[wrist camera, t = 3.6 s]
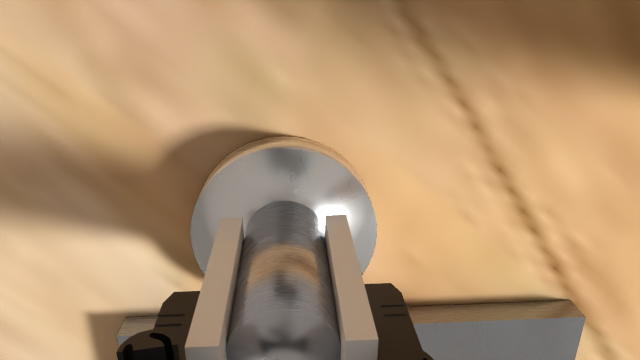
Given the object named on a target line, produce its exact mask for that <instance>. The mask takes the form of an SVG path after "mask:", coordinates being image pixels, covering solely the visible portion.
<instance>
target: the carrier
mask: <svg viewBox="0 0 640 360" xmlns="http://www.w3.org/2000/svg"><path fill="white" fill-rule="evenodd" d="M407 309H408V312H409V316H410V317H411V320H412V323H413V325H414V328H415V331H416V333H417V336H418V339H419V341H420V344H421V347H422V349H423V351H425V352H426V353H428V354H429V355H430V356H431V357H432V358H433V359H434V360H575V357H576V353H577V349H578V345H579V341H580V338H581V334H582V330H583V326H584V322H585V318H586V317H585V316H584V314H583V313H582V312H581V311H580V310H579V309H578V308H577V307H576V306H575V304H574V303H573V302H572V301H571V300H566V301H540V302H514V303H487V304H461V305H435V306H409V307H407ZM157 317H158V316H148V317H126V318H125V320H124V322H123V324H122V326H121V328H120V330H119V332H118V334H117V339H118V345H119V347H120V345H121V344H122V343H123V342H124V341H126V340H127V339H128V338H129V337H131V336H133V335H135V334H137V333H139V332H143V331H147V330H153V328H154V327H155V322H156V320H157Z"/></svg>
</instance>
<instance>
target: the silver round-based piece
mask: <svg viewBox="0 0 640 360" xmlns="http://www.w3.org/2000/svg"><path fill="white" fill-rule="evenodd" d="M325 215H346V216H347V220H348V224H349V228H350V231H351V235H352V239H353V243H354V247H355V251H356V255H357V258H358V262H359V266H360V270H361V274H362V275H363V273H364V271H365V270H366V268H367V266H368V265H369V262H370V260H371V258H372V255H373V252H374V248H375V244H376V237H377V224H376V218H375V213H374V209H373V206H372V203H371V200H370V198H369V195H368V193H367V190H366V188H365V186H364V184H363V182H362V179H361V178H360V176H359V175H358V173H357V172H356V170H355V169H354V168H353V167H352V166H351V164H350V163H349V162H348V161H347V160H346V159H344V158H343V157H342V156H341V155H340V154H338V153H337V152H335V151H334V150H332V149H331V148H329V147H327V146H325V145H322V144H320V143H318V142H315V141H312V140H309V139H304V138H298V137H287V136H282V137H270V138H265V139H260V140H257V141H254V142H251V143H248V144H246V145H244V146H242V147H240V148H238V149H236V150H235V151H233V152H232V153H230V154H229V155H227V156H226V157H225V158H224V159H223V160H222V161H221V162H219V164H218V165H217V166H216V167H215V168H214V169H213V170H212V172H211V173H210V175H209V177H208V178H207V180H206V182H205V184H204V186H203V188H202V191H201V193H200V195H199V198H198V200H197V203H196V205H195V208H194V211H193V215H192V220H191V243H192V249H193V252H194V255H195V258H196V261H197V263H198V265H199V267H200V269H201V270H202V272H203V273H204V275H205V273H206V269H207V266H208V262H209V259H210V255H211V252H212V248H213V244H214V241H215V237H216V234H217V230H218V227H219V223H220V220H221V218H232V217H243V229H244V243H243V249H242V255H241V261H240V267H239V273H238V279H237V285H236V291H235V297H234V303H233V309H232V315H231V320H230V326H229V332H228V338H227V344H226V357H227V360H341V341H340V334H339V328H338V321H337V315H336V308H335V302H334V295H333V288H332V282H331V275H330V269H329V262H328V256H327V249H326V242H325Z"/></svg>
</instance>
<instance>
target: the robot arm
mask: <svg viewBox="0 0 640 360" xmlns="http://www.w3.org/2000/svg"><path fill="white" fill-rule="evenodd" d="M325 242H326V249H327V256H328V262H329V269H330V275H331V282H332V288H333V295H334V302H335V308H336V315H337V321H338V328H339V334H340V341H341V360H434V359H433V358H432V357H431V356H430V355H429V354H428V353H426V352H425V351H423V349H422V347H421V344H420V341H419V339H418V336H417V333H416V331H415V328H414V325H413V323H412V320H411V317H410V316H409V312H408V309H407V307H406V304H405V301H404V299H403V296H402V293H401V292H400V291H399V290H398V289H397V288H396V287H394V286H393V285H392V284H391V283H384V284H364V282H363V278H362V274H361V270H360V266H359V262H358V258H357V255H356V251H355V247H354V243H353V239H352V235H351V231H350V228H349V224H348V220H347V216H346V215H325ZM243 243H244V229H243V217H232V218H221V220H220V223H219V227H218V230H217V234H216V237H215V241H214V244H213V248H212V252H211V255H210V259H209V262H208V266H207V269H206V273H205V276H204V280H203V284H202V287H201V291H190V292H174V293H173V294H172V295H171V296H170V297H169V298H168V299H167V300H166V301H165V302H164V303H163V304H162V307H161V310H160V312H159V315H158V317H157V320H156V322H155V327H154V328H153V330H147V331H143V332H139V333H137V334H135V335H133V336H131V337H129V338H128V339H127V340H126V341H124V342H123V343H122V344H121V345H120V347H119V349H118V351H117V358H118V360H227V357H226V344H227V338H228V332H229V326H230V320H231V315H232V309H233V303H234V297H235V291H236V285H237V279H238V273H239V267H240V261H241V255H242V249H243Z"/></svg>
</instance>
